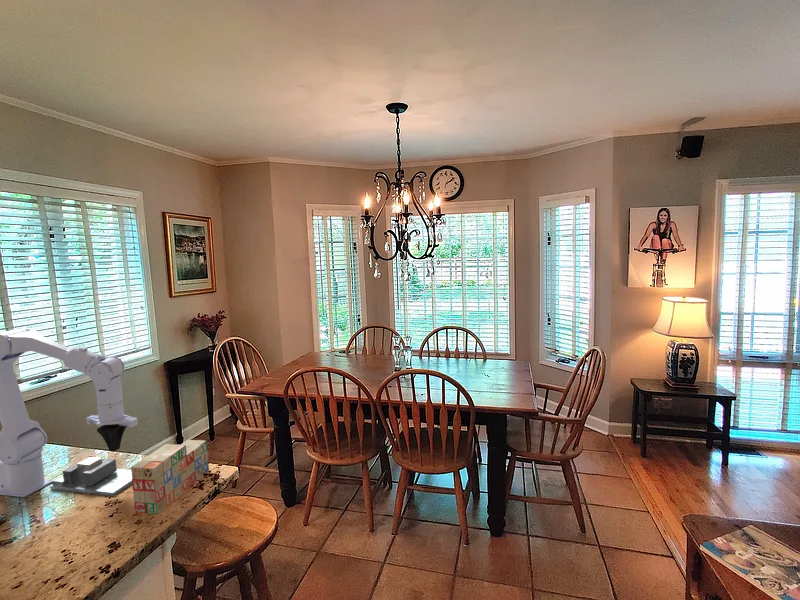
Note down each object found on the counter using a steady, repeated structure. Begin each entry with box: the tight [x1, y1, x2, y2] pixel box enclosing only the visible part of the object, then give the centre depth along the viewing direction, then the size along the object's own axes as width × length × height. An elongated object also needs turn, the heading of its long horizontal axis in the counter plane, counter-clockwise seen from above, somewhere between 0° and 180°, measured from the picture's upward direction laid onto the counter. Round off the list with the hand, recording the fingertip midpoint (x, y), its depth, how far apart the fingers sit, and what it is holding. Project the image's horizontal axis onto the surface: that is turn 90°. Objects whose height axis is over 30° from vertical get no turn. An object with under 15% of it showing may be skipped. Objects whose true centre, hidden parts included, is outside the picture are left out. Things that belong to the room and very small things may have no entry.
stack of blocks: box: [130, 439, 210, 515], centre depth 111 cm, size 21×6×12 cm, turn 172°
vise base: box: [49, 456, 132, 497], centre depth 116 cm, size 20×11×5 cm, turn 79°
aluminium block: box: [76, 456, 103, 481], centre depth 116 cm, size 4×4×5 cm
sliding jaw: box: [83, 458, 118, 486], centre depth 116 cm, size 2×8×4 cm, turn 169°
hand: (114, 449), depth 114 cm, fingers closed
